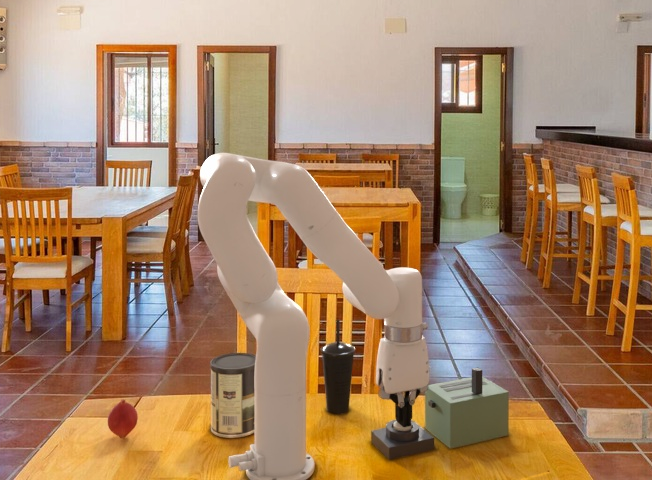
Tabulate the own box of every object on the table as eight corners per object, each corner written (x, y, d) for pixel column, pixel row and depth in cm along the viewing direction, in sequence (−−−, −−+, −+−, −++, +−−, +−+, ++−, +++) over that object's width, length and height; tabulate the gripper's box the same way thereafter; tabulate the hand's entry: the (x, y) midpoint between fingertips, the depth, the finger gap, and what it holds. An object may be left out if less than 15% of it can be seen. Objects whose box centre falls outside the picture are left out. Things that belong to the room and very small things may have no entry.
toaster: (446, 449, 138) (446, 403, 138) (421, 429, 148) (421, 385, 147) (508, 435, 145) (508, 391, 145) (480, 416, 154) (480, 374, 154)
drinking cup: (351, 418, 152) (351, 326, 152) (316, 415, 154) (316, 324, 154) (358, 404, 160) (358, 316, 160) (325, 401, 161) (325, 314, 161)
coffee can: (253, 413, 155) (253, 349, 155) (265, 433, 145) (265, 365, 145) (206, 421, 151) (206, 355, 151) (214, 442, 142) (214, 372, 141)
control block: (389, 460, 134) (389, 439, 134) (371, 442, 142) (371, 422, 142) (434, 449, 138) (434, 429, 138) (414, 433, 146) (414, 413, 146)
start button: (398, 438, 138) (398, 429, 138) (390, 430, 141) (390, 422, 141) (414, 434, 139) (414, 426, 139) (406, 427, 142) (406, 418, 142)
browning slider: (475, 394, 143) (475, 371, 143) (471, 391, 144) (471, 368, 144) (482, 393, 143) (482, 369, 143) (478, 390, 145) (478, 367, 145)
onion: (101, 440, 142) (101, 400, 142) (123, 428, 148) (123, 390, 147) (122, 446, 140) (122, 406, 140) (143, 434, 145) (143, 396, 145)
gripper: (426, 321, 146) (427, 409, 147) (361, 331, 140) (361, 423, 140) (445, 332, 140) (446, 424, 140) (377, 342, 133) (378, 439, 134)
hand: (403, 423), depth 140 cm, fingers closed
